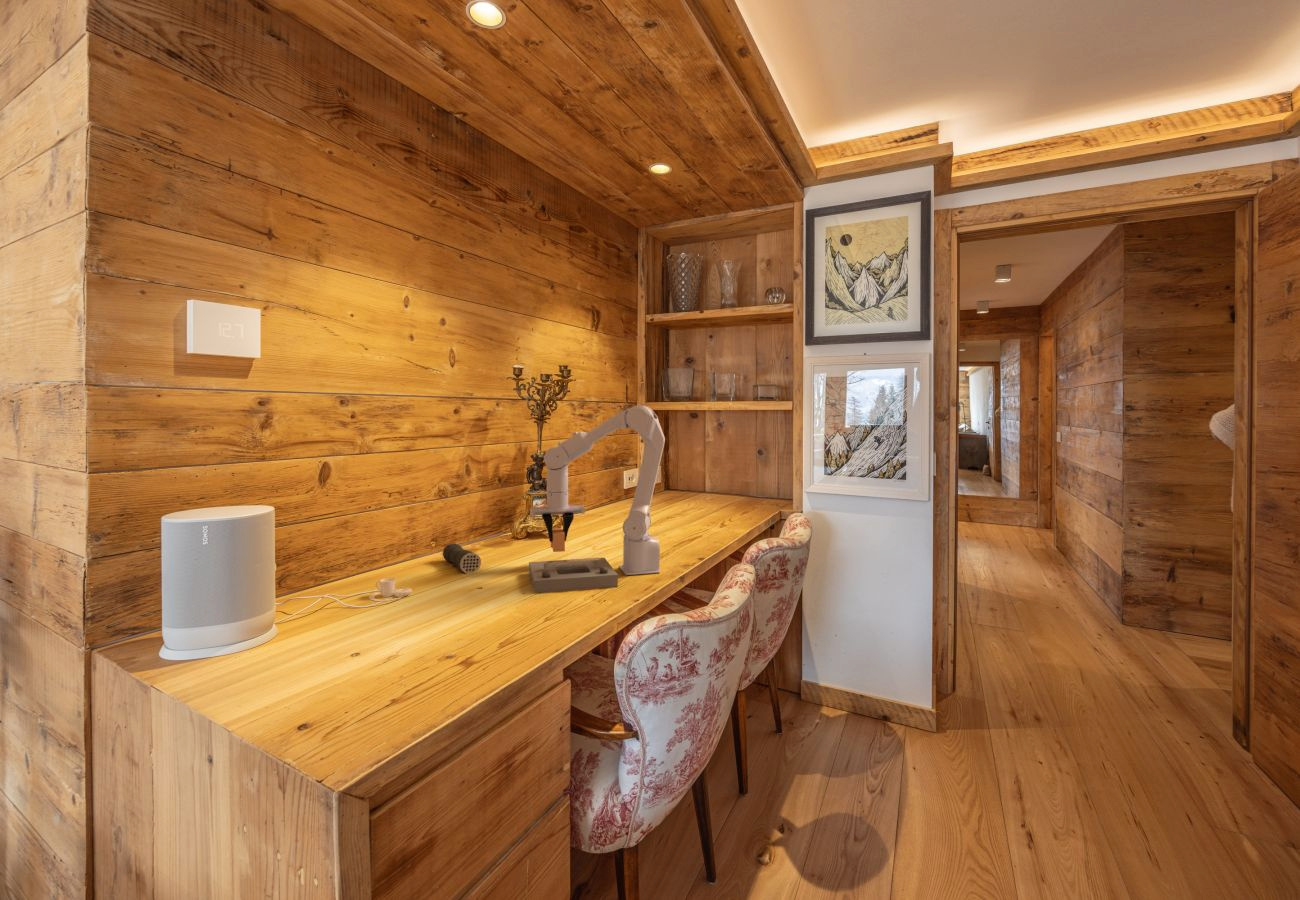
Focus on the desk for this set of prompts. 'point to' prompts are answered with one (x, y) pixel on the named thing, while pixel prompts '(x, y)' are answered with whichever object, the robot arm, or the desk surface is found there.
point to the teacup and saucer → (389, 590)
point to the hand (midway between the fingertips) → (557, 540)
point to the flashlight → (462, 558)
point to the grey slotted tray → (572, 575)
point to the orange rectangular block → (558, 540)
